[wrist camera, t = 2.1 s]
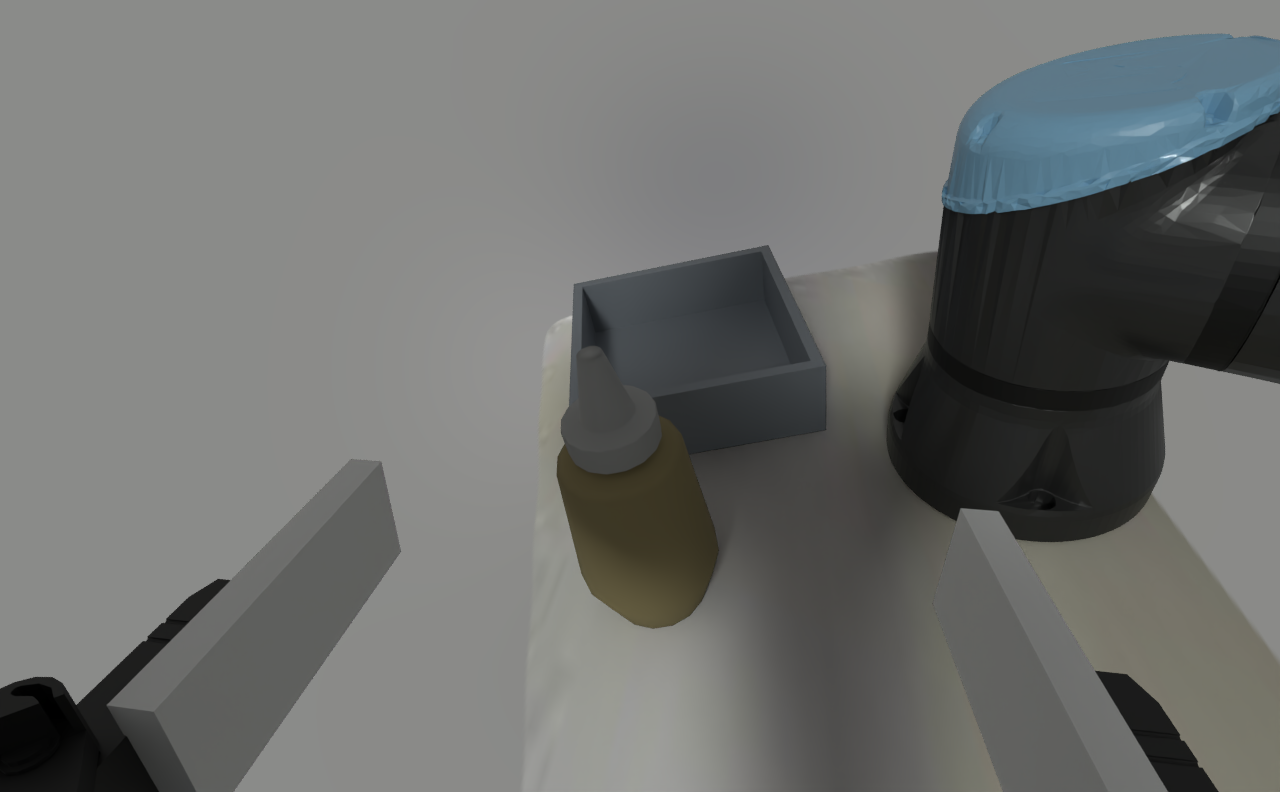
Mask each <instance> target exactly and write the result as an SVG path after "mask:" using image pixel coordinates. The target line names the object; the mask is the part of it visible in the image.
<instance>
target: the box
mask: <svg viewBox="0 0 1280 792" xmlns="http://www.w3.org/2000/svg"><path fill="white" fill-rule="evenodd" d="M588 346H598V347H600V348H601V349H602V350H603V352H604V354H605V355H606V357H607V359H608V360H609V362H610V364H611V366H612V367H613V369H614V371H615V372H616V374H617V376H618V378H619V379H620V381H621V383H622V384H623V385H629V386H634V387H636V388H639V389H641V390H643V391H646V392H647V393H648V394H649V395H650V396H651V397H652V399H653V400H654V401H655V402H656V407H657V411H658V415H659V416H661V417H664V418H666V419H668V420H670V421H671V422H672V424H673V425H674V426H675V427H676V428H677V429H678V431H679V432H680V433H681V434H682V437H683V440H684V443H685V445H686V448H687V451H688V454H692V453H698V452H704V451H709V450H715V449H721V448H726V447H732V446H737V445H743V444H749V443H754V442H760V441H766V440H771V439H777V438H783V437H788V436H794V435H799V434H805V433H811V432H816V431H822V430H826V365H825V363H824V361H823V358H822V356H821V354H820V352H819V350H818V348H817V346H816V344H815V342H814V340H813V338H812V335H811V333H810V331H809V329H808V327H807V325H806V323H805V321H804V319H803V317H802V315H801V313H800V310H799V308H798V306H797V304H796V302H795V300H794V298H793V296H792V294H791V292H790V290H789V287H788V285H787V283H786V281H785V279H784V277H783V275H782V273H781V271H780V269H779V267H778V265H777V263H776V261H775V259H774V256H773V254H772V252H771V250H770V248H769V246H768V245H767V246H762V247H757V248H752V249H747V250H742V251H737V252H732V253H728V254H722V255H717V256H712V257H707V258H702V259H698V260H692V261H687V262H683V263H677V264H673V265H667V266H662V267H657V268H652V269H648V270H642V271H637V272H632V273H627V274H622V275H617V276H613V277H607V278H603V279H597V280H592V281H587V282H583V283H577V284H574V293H573V319H572V346H571V372H570V398H569V406H570V405H571V404H572V403H573V402H575V401H576V400H577V399H578V398H579V396H578V378H577V360H576V355H577V353H578V352H579V351H580V350H581V349H583V348H585V347H588Z"/></svg>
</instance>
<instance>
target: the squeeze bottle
mask: <svg viewBox="0 0 1280 792" xmlns="http://www.w3.org/2000/svg"><path fill="white" fill-rule="evenodd" d="M576 360H577V378H578V396H579V398H578V399H577V400H576V401H575V402H573V403H572V404H571V405H570V406H569V407H568V409H567V411H566V412H565V414H564V416H563V418H562V419H561V434H562V437H563V440H564V442H565V444H564V446H563V448H562V450H561V452H560V453H559V455H558V459H557V478H558V482H559V486H560V490H561V494H562V498H563V502H564V506H565V510H566V514H567V518H568V522H569V526H570V530H571V534H572V538H573V542H574V546H575V550H576V554H577V558H578V562H579V566H580V570H581V573H582V575H583V577H584V579H585V581H586V583H587V585H588V587H589V589H590V591H591V593H592V595H594V596H595V597H596V598H598V599H599V600H600V601H602V602H603V603H605V604H606V605H607V606H609V607H610V608H611V609H613V610H614V611H616V612H617V613H619V614H620V615H622V616H623V617H624V618H626V619H627V620H629V621H630V622H632V623H633V624H635V625H639V626H644V627H648V628H653V629H654V628H660V627H666V626H672V625H674V624H676V623H678V622H680V621H681V620H683V619H685V618H686V617H688V616H690V615H691V614H692V612H693V611H694V610H695V609H696V607H697V606H698V605H699V604H700V602H701V601H702V599H703V596H704V594H705V591H706V589H707V586H708V584H709V581H710V579H711V576H712V573H713V569H714V566H715V562H716V559H717V555H718V551H719V549H718V544H717V539H716V534H715V528H714V525H713V522H712V520H711V517H710V514H709V511H708V508H707V505H706V503H705V500H704V497H703V494H702V491H701V488H700V485H699V483H698V480H697V477H696V474H695V471H694V468H693V465H692V463H691V460H690V457H689V454H688V451H687V448H686V445H685V443H684V440H683V437H682V434H681V433H680V432H679V431H678V429H677V428H676V427H675V426H674V425H673V424H672V422H671V421H670V420H668V419H666V418H664V417H661V416H659V415H658V411H657V407H656V402H655V401H654V400H653V399H652V397H651V396H650V395H649V394H648V393H647V392H646V391H643V390H641V389H639V388H636V387H634V386H629V385H623V384H622V383H621V381H620V379H619V378H618V376H617V374H616V372H615V371H614V369H613V367H612V366H611V364H610V362H609V360H608V359H607V357H606V355H605V354H604V352H603V350H602V349H601V348H600V347H598V346H588V347H585V348H583V349H581V350H580V351H579V352H578V353H577V355H576Z"/></svg>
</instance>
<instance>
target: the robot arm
mask: <svg viewBox="0 0 1280 792" xmlns="http://www.w3.org/2000/svg"><path fill="white" fill-rule="evenodd" d="M942 203H943V205H944V208H943V217H942V224H941V233H940V240H939V249H938V256H937V264H936V272H935V280H934V288H933V297H932V305H931V313H930V322H929V329H928V336H927V341H926V343H925V344H924V346H923V348H922V349H921V351H920V353H919V354H918V356H917V358H916V359H915V361H914V363H913V364H912V366H911V368H910V369H909V371H908V373H907V374H906V376H905V378H904V380H903V381H902V383H901V385H900V386H899V388H898V390H897V391H896V393H895V395H894V398H893V400H892V403H891V407H890V411H889V419H888V429H887V446H888V451H889V455H890V458H891V460H892V463H893V465H894V467H895V469H896V470H897V472H898V473H899V475H900V476H901V478H902V479H903V480H904V482H905V483H906V484H907V485H908V486H909V487H910V488H911V489H912V490H913V491H914V492H915V493H916V494H917V495H918V496H919V497H920V498H921V499H923V500H924V501H925V502H927V503H928V504H929V505H931V506H932V507H934V508H935V509H937V510H938V511H940V512H942V513H943V514H945V515H947V516H949V517H950V518H952V519H954V520H956V521H957V522H956V525H955V529H954V532H953V536H952V539H951V542H950V546H949V549H948V553H947V556H946V559H945V563H944V566H943V570H942V573H941V576H940V580H939V583H938V587H937V590H936V593H935V597H934V600H933V606H934V608H935V611H936V614H937V616H938V619H939V622H940V624H941V627H942V630H943V633H944V635H945V638H946V641H947V643H948V646H949V649H950V651H951V654H952V657H953V659H954V662H955V665H956V667H957V670H958V673H959V675H960V678H961V681H962V683H963V686H964V689H965V691H966V694H967V697H968V699H969V702H970V705H971V707H972V710H973V713H974V715H975V718H976V721H977V723H978V726H979V729H980V731H981V734H982V737H983V739H984V742H985V745H986V747H987V750H988V753H989V755H990V758H991V761H992V763H993V766H994V769H995V771H996V774H997V777H998V779H999V782H1000V785H1001V787H1002V790H1003V792H1218V790H1217V789H1216V787H1215V786H1214V784H1213V783H1212V781H1211V780H1210V778H1209V777H1208V775H1207V774H1206V773H1205V771H1204V770H1203V768H1199V766H1198V763H1197V762H1198V761H1197V759H1196V758H1195V756H1194V755H1193V753H1192V752H1191V750H1190V749H1189V747H1188V746H1187V744H1186V743H1185V741H1181V739H1180V734H1179V732H1178V731H1177V730H1176V728H1175V727H1174V725H1173V724H1172V722H1171V721H1170V719H1169V718H1168V716H1167V715H1166V713H1165V712H1164V710H1163V709H1162V707H1161V706H1160V704H1159V703H1158V702H1157V701H1156V700H1155V699H1154V698H1153V697H1151V696H1150V695H1149V694H1148V693H1147V692H1146V691H1145V690H1144V689H1143V688H1142V687H1140V686H1139V685H1138V684H1137V683H1136V682H1135V681H1134V680H1133V679H1132V678H1130V677H1129V676H1128V675H1127V674H1119V673H1110V672H1100V671H1095V670H1094V669H1093V667H1092V665H1091V664H1090V662H1089V660H1088V659H1087V657H1086V655H1085V654H1084V652H1083V650H1082V649H1081V647H1080V645H1079V644H1078V642H1077V640H1076V639H1075V637H1074V635H1073V634H1072V632H1071V630H1070V629H1069V627H1068V626H1067V624H1066V622H1065V621H1064V619H1063V617H1062V616H1061V614H1060V612H1059V611H1058V609H1057V607H1056V606H1055V604H1054V602H1053V601H1052V599H1051V597H1050V596H1049V594H1048V592H1047V591H1046V589H1045V587H1044V586H1043V584H1042V582H1041V581H1040V579H1039V577H1038V576H1037V574H1036V573H1035V571H1034V569H1033V568H1032V566H1031V564H1030V563H1029V561H1028V559H1027V558H1026V556H1025V554H1024V553H1023V551H1022V549H1021V548H1020V546H1019V544H1018V543H1017V541H1016V539H1019V540H1027V541H1038V542H1063V541H1073V540H1080V539H1086V538H1090V537H1094V536H1097V535H1101V534H1104V533H1106V532H1109V531H1111V530H1114V529H1116V528H1118V527H1120V526H1121V525H1123V524H1125V523H1126V522H1128V521H1129V520H1130V519H1132V518H1133V517H1134V516H1135V515H1136V514H1137V513H1138V512H1139V511H1140V510H1141V509H1142V508H1143V507H1144V505H1145V504H1146V502H1147V500H1148V499H1149V497H1150V495H1151V493H1152V491H1153V489H1154V487H1155V485H1156V483H1157V481H1158V479H1159V477H1160V474H1161V472H1162V468H1163V464H1164V459H1165V439H1164V423H1163V407H1162V391H1161V378H1162V376H1163V374H1164V371H1165V369H1166V367H1167V365H1168V362H1169V361H1174V362H1178V363H1185V364H1190V365H1194V366H1199V367H1204V368H1209V369H1214V370H1217V371H1223V372H1228V373H1233V374H1238V375H1242V376H1247V377H1252V378H1256V379H1261V380H1265V381H1270V382H1274V383H1279V384H1280V40H1275V39H1271V38H1266V37H1262V36H1250V37H1238V38H1233V37H1232V36H1231V35H1230V34H1197V35H1183V36H1172V37H1163V38H1155V39H1147V40H1140V41H1134V42H1128V43H1123V44H1118V45H1113V46H1107V47H1102V48H1098V49H1093V50H1089V51H1084V52H1081V53H1077V54H1073V55H1069V56H1065V57H1062V58H1059V59H1056V60H1053V61H1050V62H1047V63H1044V64H1040V65H1038V66H1036V67H1033V68H1030V69H1027V70H1025V71H1023V72H1020V73H1018V74H1016V75H1014V76H1012V77H1010V78H1008V79H1006V80H1004V81H1002V82H1001V83H999V84H997V85H996V86H994V87H993V88H991V89H990V90H989V91H987V92H986V93H985V94H983V95H982V96H981V97H980V98H979V99H978V100H977V101H976V102H975V103H974V104H973V105H972V106H971V107H970V109H969V110H968V111H967V113H966V114H965V116H964V118H963V119H962V121H961V123H960V126H959V129H958V132H957V136H956V142H955V147H954V152H953V157H952V163H951V168H950V173H949V178H948V180H947V181H946V183H945V185H944V187H943V191H942ZM400 552H401V549H400V545H399V540H398V535H397V531H396V526H395V522H394V517H393V513H392V509H391V503H390V499H389V494H388V490H387V485H386V481H385V477H384V472H383V467H382V463H381V462H380V461H367V460H354V459H351V460H350V461H349V462H348V463H347V464H346V465H345V466H344V467H343V468H342V469H341V470H340V471H339V472H338V473H337V474H336V475H335V476H334V477H333V478H332V479H331V480H330V481H329V482H328V483H327V484H326V485H325V486H324V487H323V488H322V489H321V490H320V491H319V492H318V493H317V494H316V495H315V496H314V497H313V498H312V499H311V500H310V501H309V502H308V503H307V504H306V505H305V506H304V507H303V508H302V509H301V510H300V511H299V512H298V513H297V514H296V515H295V516H294V517H293V518H292V519H291V520H290V521H289V522H288V523H287V524H286V525H285V526H284V527H283V528H282V529H281V530H280V531H279V532H278V533H277V534H276V535H275V536H274V537H273V538H272V539H271V540H270V541H269V542H268V544H266V545H265V547H263V548H262V550H260V552H258V553H257V554H256V555H255V556H254V557H253V559H251V561H249V562H248V563H247V564H246V565H245V567H244V568H243V569H242V570H241V571H240V572H239V573H238V574H237V575H236V576H235V577H234V578H233V579H232V580H223V579H217V580H216V581H214V582H213V583H211V584H209V585H208V586H206V587H204V588H203V589H201V590H200V591H198V592H196V593H195V594H193V595H191V596H190V597H189V598H188V599H186V600H185V601H184V602H183V603H182V604H181V605H180V606H179V607H178V608H177V609H176V610H175V611H174V612H173V613H172V614H171V615H170V616H169V617H168V618H167V619H166V622H165V623H161V625H159V626H158V628H156V629H155V630H154V631H153V632H152V633H151V634H150V635H149V636H148V640H147V641H146V642H145V641H143V642H142V643H141V644H139V645H138V647H136V648H135V649H134V650H133V652H131V653H130V654H129V655H128V656H127V657H126V658H125V659H124V660H123V661H122V662H121V663H120V664H119V665H118V666H117V667H116V668H115V669H113V670H112V671H111V672H110V674H108V675H107V676H106V677H105V678H104V679H103V680H102V681H101V682H100V683H99V684H98V685H97V686H96V687H95V688H94V689H93V690H92V691H91V692H89V693H88V694H87V695H86V696H85V697H84V699H82V700H81V701H80V702H79V703H78V704H77V705H76V704H75V703H74V701H73V699H72V698H71V697H70V695H69V693H68V691H67V690H66V688H65V686H64V685H63V683H61V682H60V681H58V680H56V679H55V678H53V677H34V678H30V679H26V680H22V681H18V682H14V683H12V684H10V685H8V686H5V687H3V688H1V689H0V792H233V791H234V790H235V789H236V788H237V786H238V784H239V783H240V782H241V780H242V779H243V778H244V776H245V775H246V773H247V772H248V770H249V769H250V767H251V766H252V765H253V763H254V762H255V760H256V759H257V757H258V756H259V754H260V753H261V751H262V750H263V749H264V747H265V746H266V745H267V743H268V742H269V740H270V738H271V737H272V736H273V734H274V733H275V732H276V730H277V729H278V727H279V726H280V724H281V723H282V722H283V720H284V719H285V717H286V716H287V714H288V713H289V712H290V710H291V709H292V707H293V706H294V704H295V703H296V701H297V700H298V699H299V697H300V696H301V694H302V693H303V691H304V690H305V688H306V687H307V686H308V684H309V683H310V681H311V680H312V679H313V677H314V676H315V674H316V673H317V671H318V670H319V668H320V667H321V666H322V664H323V663H324V661H325V660H326V658H327V657H328V656H329V654H330V653H331V651H332V650H333V648H334V647H335V645H336V644H337V643H338V641H339V640H340V638H341V637H342V635H343V634H344V633H345V631H346V630H347V628H348V627H349V625H350V624H351V623H352V621H353V619H354V618H355V617H356V615H357V614H358V612H359V611H360V610H361V608H362V607H363V605H364V604H365V602H366V601H367V600H368V598H369V597H370V595H371V594H372V592H373V591H374V590H375V588H376V587H377V585H378V584H379V582H380V581H381V580H382V578H383V577H384V575H385V574H386V572H387V571H388V570H389V568H390V567H391V565H392V564H393V562H394V561H395V559H396V558H397V557H398V555H399V554H400Z"/></svg>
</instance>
